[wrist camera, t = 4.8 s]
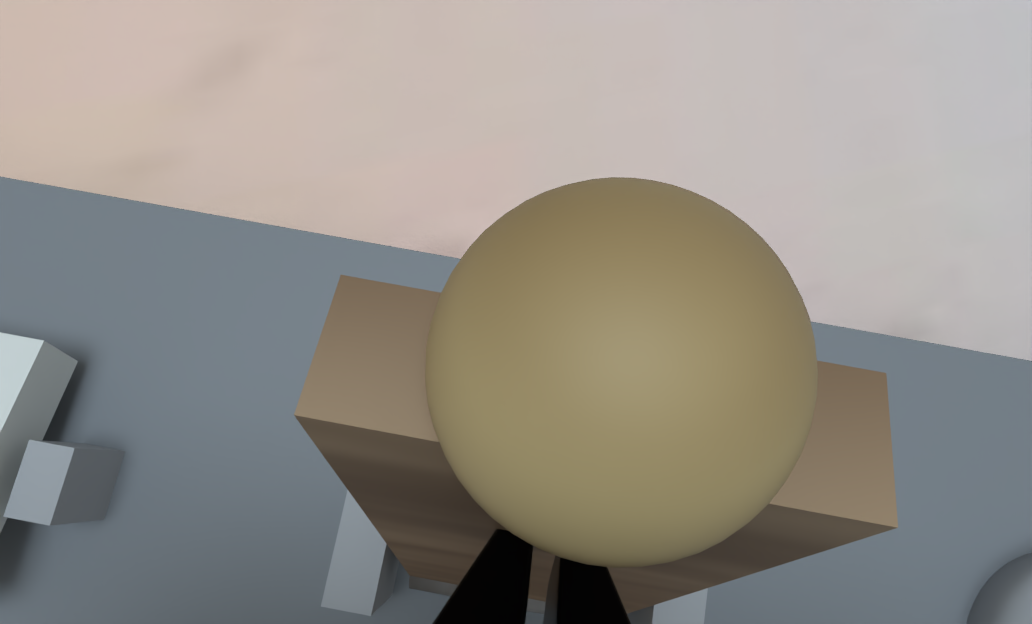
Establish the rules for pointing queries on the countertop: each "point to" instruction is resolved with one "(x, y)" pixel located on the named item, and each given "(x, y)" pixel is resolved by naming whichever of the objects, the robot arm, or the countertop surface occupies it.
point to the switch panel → (319, 491)
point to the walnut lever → (601, 401)
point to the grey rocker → (26, 400)
